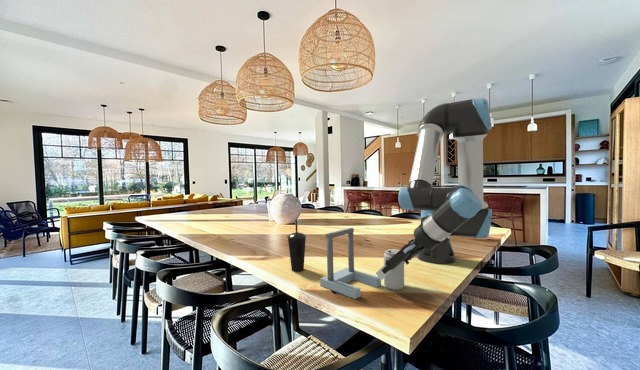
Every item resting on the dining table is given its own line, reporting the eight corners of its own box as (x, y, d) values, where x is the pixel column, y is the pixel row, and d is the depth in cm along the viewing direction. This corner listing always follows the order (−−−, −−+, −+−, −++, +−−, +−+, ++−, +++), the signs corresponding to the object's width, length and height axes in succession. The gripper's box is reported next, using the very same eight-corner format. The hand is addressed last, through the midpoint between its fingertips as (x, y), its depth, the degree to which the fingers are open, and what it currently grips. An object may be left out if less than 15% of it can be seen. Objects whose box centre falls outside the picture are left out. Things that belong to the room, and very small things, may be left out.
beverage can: (381, 283, 93) (381, 248, 92) (400, 282, 93) (399, 247, 93) (388, 291, 87) (387, 254, 86) (407, 290, 87) (407, 253, 87)
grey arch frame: (381, 285, 92) (380, 231, 91) (355, 299, 82) (354, 239, 81) (346, 274, 102) (345, 226, 102) (320, 285, 93) (318, 233, 92)
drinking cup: (310, 267, 111) (309, 218, 110) (301, 274, 104) (300, 221, 103) (294, 265, 114) (292, 217, 113) (284, 271, 107) (282, 220, 107)
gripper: (426, 249, 72) (375, 292, 84) (453, 236, 85) (405, 275, 97) (407, 227, 75) (360, 271, 87) (436, 217, 89) (392, 257, 101)
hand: (384, 273), depth 92 cm, fingers closed on beverage can, 6 cm apart
